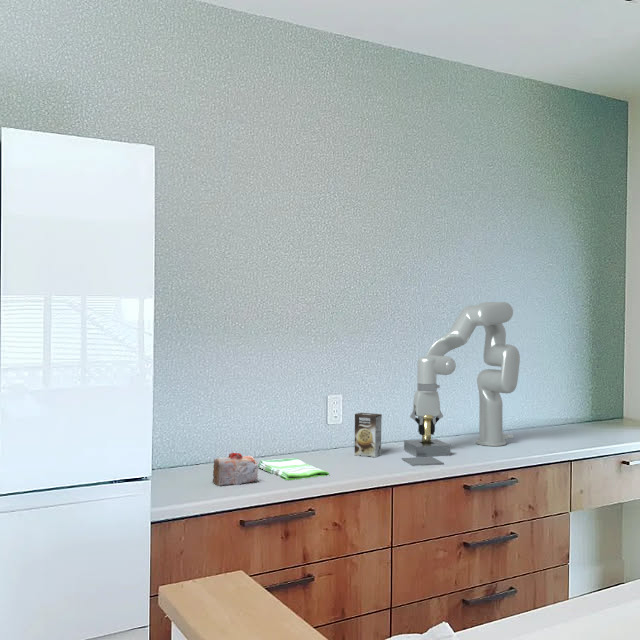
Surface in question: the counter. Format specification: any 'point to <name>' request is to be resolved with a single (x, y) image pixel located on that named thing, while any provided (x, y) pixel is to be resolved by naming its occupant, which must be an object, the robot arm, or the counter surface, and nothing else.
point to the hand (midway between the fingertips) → (426, 433)
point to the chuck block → (427, 448)
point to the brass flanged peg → (427, 429)
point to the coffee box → (368, 434)
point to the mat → (423, 461)
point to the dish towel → (291, 468)
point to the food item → (234, 470)
